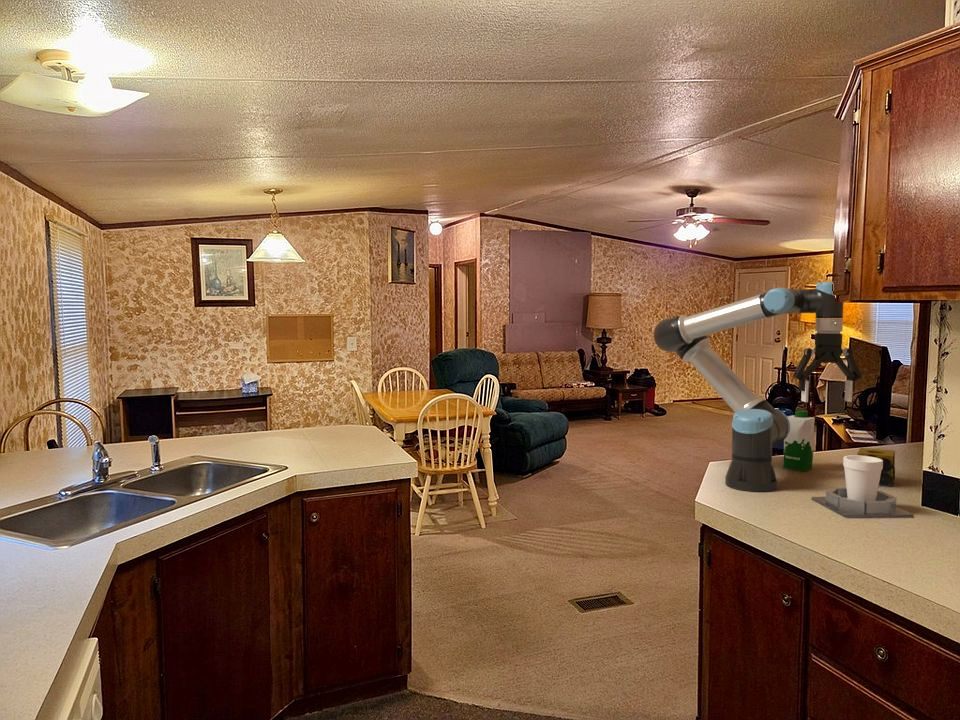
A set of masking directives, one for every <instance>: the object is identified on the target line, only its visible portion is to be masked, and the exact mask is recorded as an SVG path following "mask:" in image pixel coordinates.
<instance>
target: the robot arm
mask: <svg viewBox="0 0 960 720" xmlns="http://www.w3.org/2000/svg"><path fill="white" fill-rule="evenodd" d="M833 282H834V281H823V282H822V281H821V282H819V281H818V282H817V283H816V287H815V288H811V289H808V288H806V289H805V288H804V289H803V288H800V289H798V288H796V289H795V288H785V287H776V288H772V289H769V291H767V292H764V293H761V294H757V295H754V296H751V297H748V298H744V299H741V300H738V301H734V302H731V303H729V304H728V303H727V304H725V305H722V306H718V307H715V308H712V309H709V310H706V311H705V310H704V311H703V312H702V311H701V312H699V313H695V314H692V315H690V316H687V315H684V314H682V315H678V316H675V317H669V318H665V319H662V320H661V321H659V322H658V323H657V324H656V326H655V328H654V330H653V340H654V343H655V345H656V346H657V347H658V348H660V349H661V350H663V351H664V352H669V353H675V354H676V355H677V356H678V357H679V359H681V360H682V361H683V362H685V363H686V362H687V363H690V364H691V365H692V366H693V367H694V368H695V370H696V371H697V372H698V373H699V374H700V375H701V376H702V377H703V379H705V380H706V382H707V383H708V384H709V385H710V386H711V387H712V389H713V390H714V391H715V392H716V393H717V394H718V395H719V396H720V397H721V399H722V400H723V401H724V402H725V403H726V404H727V405H728V406H729V407H730V409H732V411H733V412H734V414H733V416H732V422H731V431H732V432H731V461H730V463H729V467H728V470H727V472H726V474H725V481H724V482H725V485H726V486H727V487H729V488H732V489H735V490H741V491H747V492H761V493H762V492H772V491H775V490H777V489H778V479H777V476H776V472H775V469H774V466H773V462H772V461H773V447H775V446H778V445H780V444H782V442H784V440H785V439H786V438H787V436H788V434H789V432H790V422H789V419H788V417H787V416H788V415H786V413H785V412H784V411H781V410H780V409H779V408H778V409H777V408H774V407H773V406H772V404H770V403H769V402H768V401H767V400H766V399H765V398H759V397H758V396H757V395H755V393H754V392H753V391H752V390H751V389H750V388H749V387H748V385H746V384H745V382H744V381H743V380H742V379H741V378H740V377H739V376H738V375H737V374H736V373H735V372H734V370H733V369H731V367H729V364H727V363H726V362H725V361H724V360H723V359H722V358H721V357H720V355H719V354H718V353H717V352H716V351H715V350H714V349H713V348H712V347H711V346H710V345H711V344H710V343H711V339H710V338H709V337H708V335H712V334H715V333H719V332H722V331H723V332H724V331H726V330H730V329H732V328H737V327H739V326H744V325H747V324H750V323H753V322H754V323H755V322H757V321H760V320H764V319H767V318H771V317H775V316H779V315H783V314H784V315H785V314H786V315H788V314H815V321H814V322H815V323H814V324H815V325H814V331H815V332H816V333H815V334H814V348H813V349H812V348H809V347H806V348H804V349H803V355H802V358H801V360H800V361H799V362H798V365H797V367H796V369H795V371H794V373H793V374H792V377H793V378H794V379H797V380H798V390H799V391H800V392H801V395H800V396H801V398H800V401H801V402H804V403H808V402H809V384H810V383H809V380H807V379H808V378H809V377H810V376H811V375H812V373H814V371H815V370H816V369H817V368H818V366H820V365H821V364H828V363H829V364H836V365H837V367H838V368H839V370H840V371H841V372H842V374H844V376H845V377H846V378H847V379H845V381H844V383H845V384H844V401H845V402H848V403H852V402H853V391H854V392H855V390H856V381H858V380H859V379H862V378H863V375H862V372H861V371H860V368H859V366H858V364H857V362H856V360H855V358H854V355H853V349H852V348H850V347H849V348H848V347H845V348H842V345H843V334H842V333H841V332H843V325H844V302H836V298H835V296H834V294H833V291H834V283H833ZM832 284H833V291H832ZM813 355H814V356H815V357H814V358H813V359H812V361H811V358H812V356H813ZM842 355H843V356H844V358H845V360H846V362H847V364H846V363H845V361H844V360H843V358H842ZM810 361H811V362H810ZM809 362H810V363H809ZM808 363H809V365H808ZM847 365H848V366H847Z"/></svg>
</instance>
